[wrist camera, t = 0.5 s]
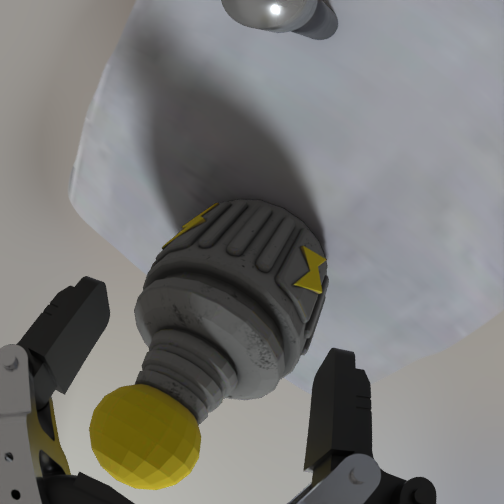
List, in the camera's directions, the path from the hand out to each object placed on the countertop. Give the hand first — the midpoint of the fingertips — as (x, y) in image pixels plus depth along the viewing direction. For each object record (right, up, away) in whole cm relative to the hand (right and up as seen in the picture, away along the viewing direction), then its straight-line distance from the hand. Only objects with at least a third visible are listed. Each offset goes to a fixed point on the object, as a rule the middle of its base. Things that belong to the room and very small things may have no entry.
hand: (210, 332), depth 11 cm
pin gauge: (+7, +23, +13) cm, 28 cm away
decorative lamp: (+2, +2, +31) cm, 31 cm away
